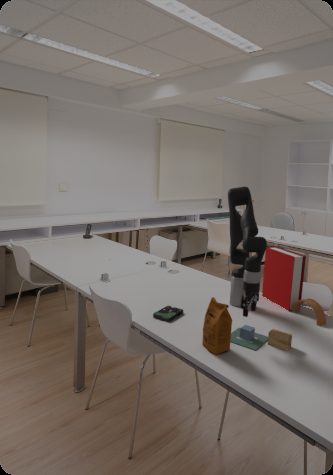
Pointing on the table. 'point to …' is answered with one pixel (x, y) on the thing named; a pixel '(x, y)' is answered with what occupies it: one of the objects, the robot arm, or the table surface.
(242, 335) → the blue cube
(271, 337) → the block
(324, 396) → the table surface
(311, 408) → the table surface
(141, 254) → the table surface
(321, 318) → the arch
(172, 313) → the disk drive
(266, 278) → the book
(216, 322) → the coffee package
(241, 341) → the letter board
